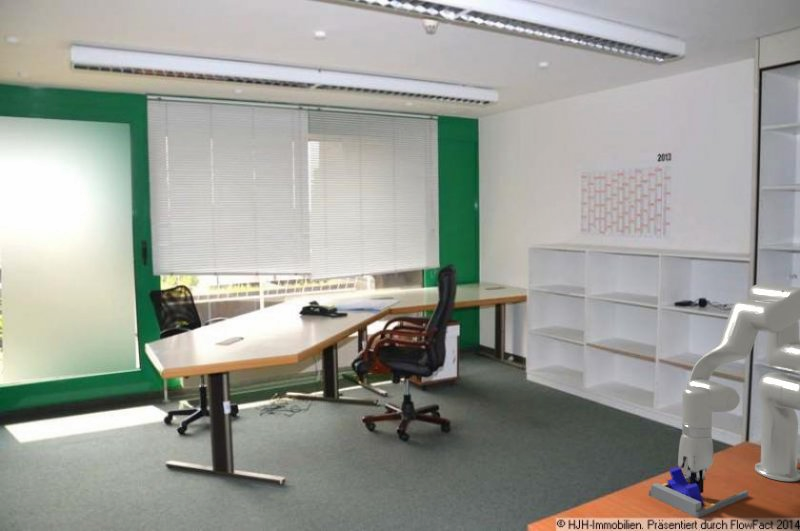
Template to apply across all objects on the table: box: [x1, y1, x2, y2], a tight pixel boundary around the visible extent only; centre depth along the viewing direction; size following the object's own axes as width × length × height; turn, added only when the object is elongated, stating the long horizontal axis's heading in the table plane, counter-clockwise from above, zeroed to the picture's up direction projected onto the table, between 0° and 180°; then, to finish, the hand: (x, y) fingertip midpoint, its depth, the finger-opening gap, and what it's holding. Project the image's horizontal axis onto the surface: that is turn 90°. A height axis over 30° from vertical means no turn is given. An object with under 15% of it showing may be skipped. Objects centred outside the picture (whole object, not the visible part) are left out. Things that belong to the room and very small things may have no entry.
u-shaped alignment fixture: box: [648, 476, 749, 519], centre depth 174 cm, size 23×16×4 cm
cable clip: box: [667, 466, 705, 507], centre depth 172 cm, size 12×4×6 cm, turn 179°
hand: (696, 491), depth 173 cm, fingers closed
